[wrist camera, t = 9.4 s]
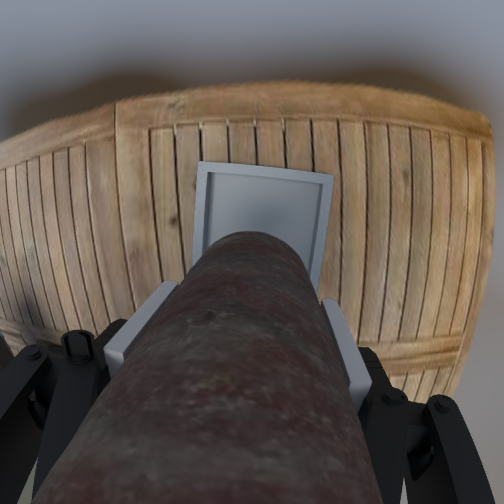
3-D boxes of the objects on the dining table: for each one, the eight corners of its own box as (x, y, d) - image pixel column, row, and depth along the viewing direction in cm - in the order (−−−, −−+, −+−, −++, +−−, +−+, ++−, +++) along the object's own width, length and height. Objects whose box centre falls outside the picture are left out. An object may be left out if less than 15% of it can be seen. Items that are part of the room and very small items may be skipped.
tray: (196, 280, 40) (191, 288, 37) (204, 162, 36) (198, 161, 33) (312, 292, 40) (314, 302, 37) (329, 175, 35) (334, 175, 33)
